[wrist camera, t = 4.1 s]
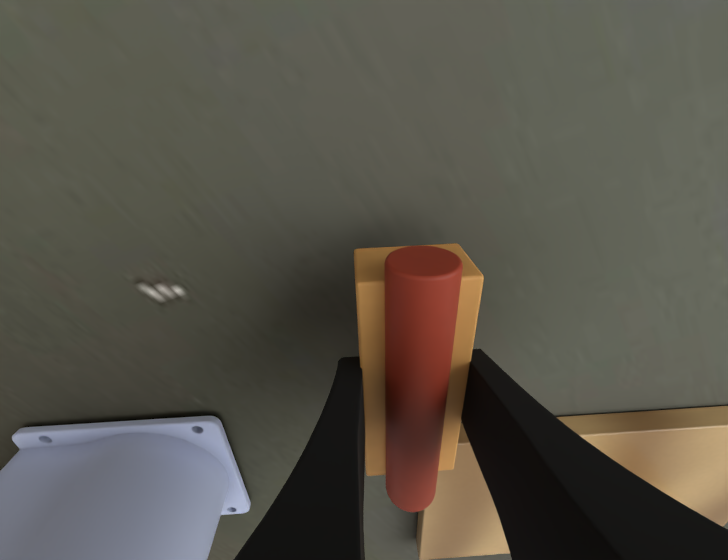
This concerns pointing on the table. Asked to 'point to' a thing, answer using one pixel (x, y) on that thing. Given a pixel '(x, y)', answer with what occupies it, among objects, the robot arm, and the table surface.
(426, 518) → the oak board
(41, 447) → the robot arm
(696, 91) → the table surface
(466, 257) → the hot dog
